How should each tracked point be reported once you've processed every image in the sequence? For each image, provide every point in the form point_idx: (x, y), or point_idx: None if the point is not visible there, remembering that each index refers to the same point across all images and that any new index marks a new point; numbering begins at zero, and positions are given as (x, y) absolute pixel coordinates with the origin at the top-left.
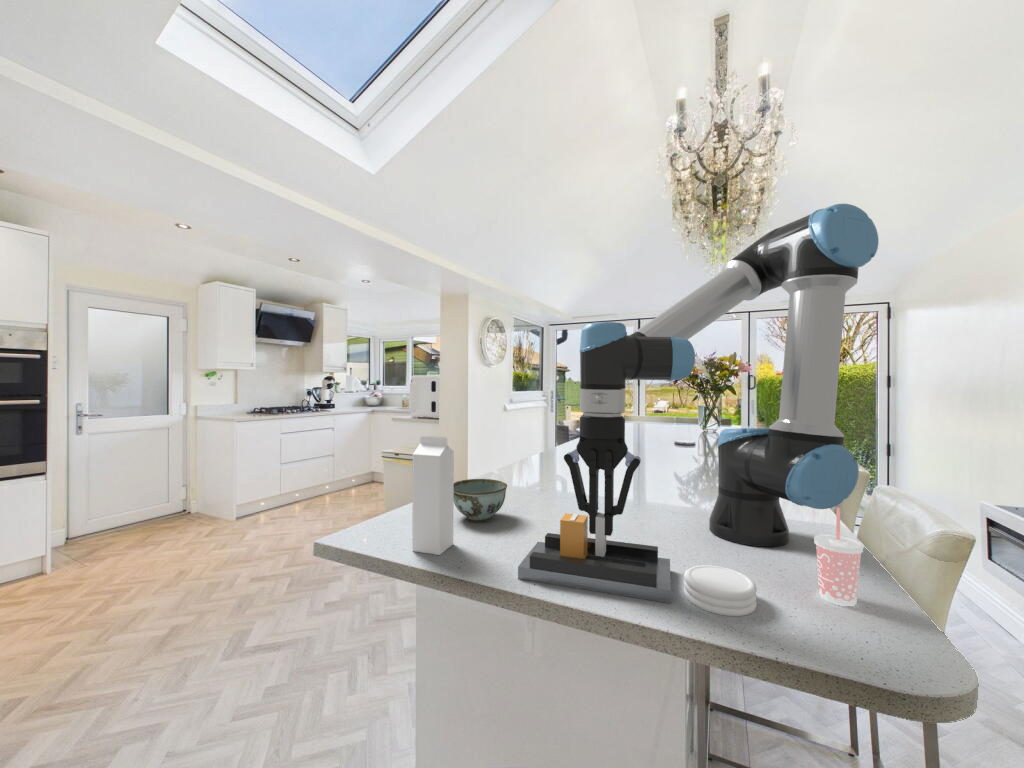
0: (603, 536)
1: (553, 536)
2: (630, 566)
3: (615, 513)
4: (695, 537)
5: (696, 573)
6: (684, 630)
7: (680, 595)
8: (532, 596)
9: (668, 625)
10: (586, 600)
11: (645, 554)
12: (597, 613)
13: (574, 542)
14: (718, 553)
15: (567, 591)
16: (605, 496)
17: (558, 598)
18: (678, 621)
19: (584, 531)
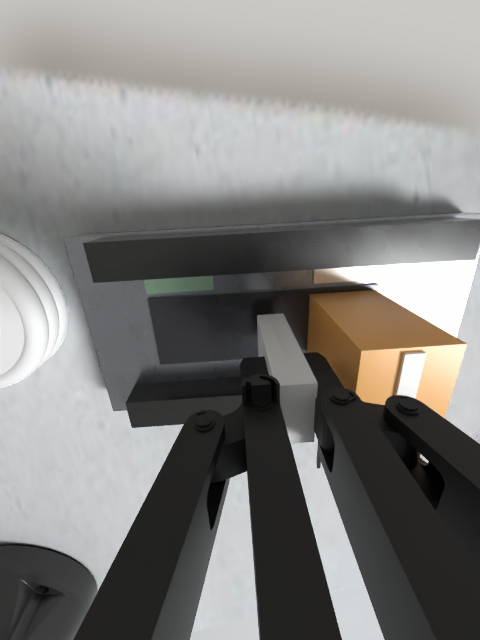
0: (267, 343)
1: None
2: (168, 270)
3: (227, 420)
4: (112, 543)
5: (10, 330)
6: (12, 101)
7: (71, 286)
8: (415, 123)
9: (54, 112)
10: (273, 163)
11: (161, 391)
12: (234, 98)
13: (360, 314)
14: (54, 497)
15: (328, 194)
16: (295, 487)
17: (345, 142)
18: (39, 146)
19: (341, 349)
